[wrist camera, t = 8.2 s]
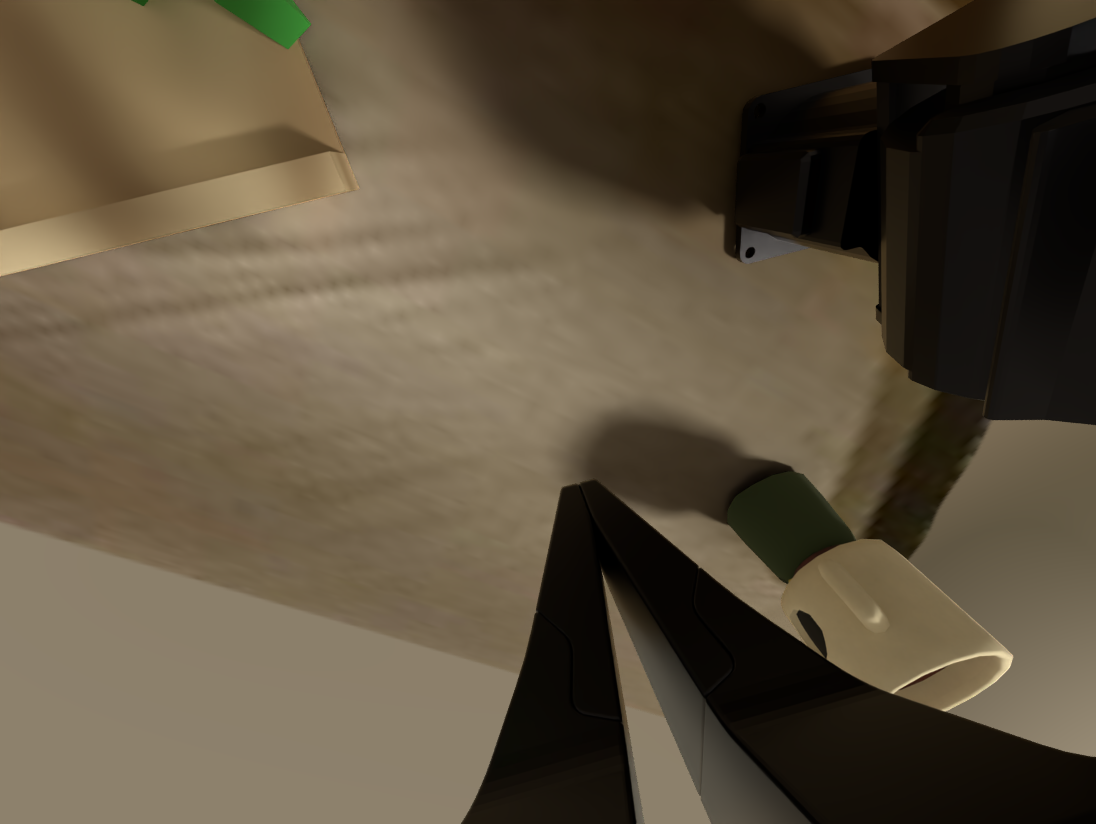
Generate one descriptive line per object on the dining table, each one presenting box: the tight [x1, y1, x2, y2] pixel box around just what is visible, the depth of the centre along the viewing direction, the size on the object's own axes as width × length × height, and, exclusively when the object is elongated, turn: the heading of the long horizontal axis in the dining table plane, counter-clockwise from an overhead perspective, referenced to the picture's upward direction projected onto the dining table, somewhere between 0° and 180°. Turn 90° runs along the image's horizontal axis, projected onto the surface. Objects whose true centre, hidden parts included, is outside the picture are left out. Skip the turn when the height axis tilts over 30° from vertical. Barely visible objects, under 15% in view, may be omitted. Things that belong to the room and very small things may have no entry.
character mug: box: [727, 471, 1013, 711], centre depth 24 cm, size 11×7×13 cm, turn 41°
